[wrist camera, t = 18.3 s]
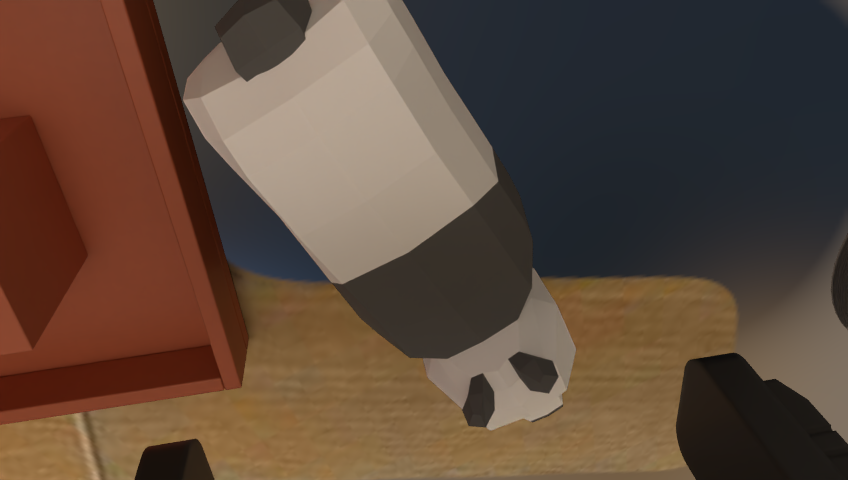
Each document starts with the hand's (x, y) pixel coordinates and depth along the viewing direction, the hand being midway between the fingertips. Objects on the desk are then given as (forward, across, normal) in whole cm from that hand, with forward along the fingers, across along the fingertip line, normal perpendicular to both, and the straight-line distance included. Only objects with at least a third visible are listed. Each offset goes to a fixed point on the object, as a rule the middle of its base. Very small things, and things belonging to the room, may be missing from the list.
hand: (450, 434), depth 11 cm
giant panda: (+14, 0, 0) cm, 14 cm away
